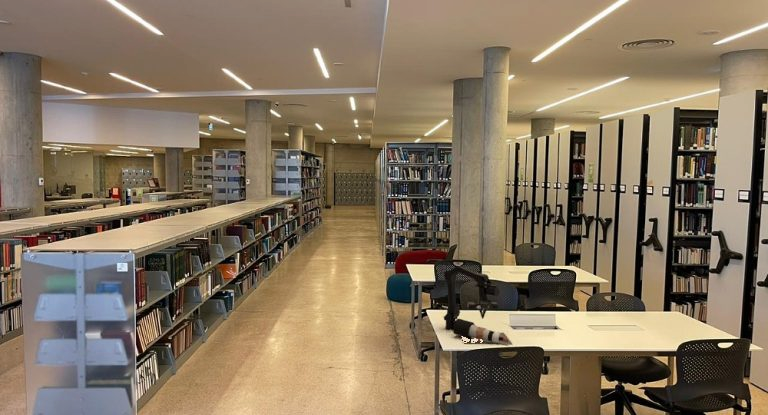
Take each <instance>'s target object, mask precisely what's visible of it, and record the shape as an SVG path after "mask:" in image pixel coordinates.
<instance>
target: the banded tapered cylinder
mask: <svg viewBox="0 0 768 415" xmlns="http://www.w3.org/2000/svg"><path fill="white" fill-rule="evenodd" d="M455 320H456V321H455V324H454V328H453V330H452V331H453V334H454V335H456V336H459V337H460V336H463V337H466V338H471V337H475V338H478V339H482V340H487V341H491V342H495V343H499V342H500V341H504V342H507V343H508V339H509V338H508V339H506V338H503V337H501V334H500V333H501V332H500V333H497V332H496V331H493V330H491V329H487V328H484V327H481V326H478V325H475V323H474V322H472V321H468V320H465V319H461V318H457V319H455Z"/></svg>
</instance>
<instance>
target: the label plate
mask: <svg viewBox="0 0 768 415" xmlns="http://www.w3.org/2000/svg"><path fill="white" fill-rule="evenodd" d="M497 333H500V334H501V337H503V338H506V339H508V343H507V342H504V341H500V342H499V343H495V342H491V341H487V340H483V342H482V343H480V342H481V341H480V339H478V338H476V339H478V341H477V342H475V343H471V339H474V338H475V337H471V338H468V339H470V341H469V342H467V343H464V344H463V345H510V346H511V345H513V343H512V341H511V340H510V338H509V337H508V336H507V334H506V333H505V332H500V331H499V332H497ZM464 342H466V341H464ZM473 342H474V341H473ZM468 343H469V344H468Z"/></svg>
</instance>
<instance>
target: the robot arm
mask: <svg viewBox="0 0 768 415" xmlns="http://www.w3.org/2000/svg"><path fill="white" fill-rule="evenodd" d="M459 274H461V275H464V276H465V277H468V278H470V279H472V280H474V281H475V283H477V284H476V285H474V286H475V287H477V292H478V293H477V294H478V295H477V296H478V298H477V303H475V302H474V301H468V302H467V308H468V309H474V308H475V307H476V310H478V311H479V313H480V317H481V319H484V318H485V315H486V314H487V310H490V308H493V309H499V304H498V303H497V301H496V302H493V301H492V300H491V299H488V296H492V297H498V296H499V293H500V289H499V287H498V285H496V284H495V285H494V284H493V283H492V282H491V279H489V275H488V274H486V273H485V274H484V273H482V272H481V273H479V272H476V271H473V270H471V269H469V268H466V267H465V266H462V265H457V266H456V267H454V268H452V269H451V268H450V269H449V270H445V271H444V272H443V276H444V278H443V279H444V281H445V282H446V284H447V286H446V287H447V296H448V299H447V300H448V307H447V309H446V314H445V315H444V316H443V320H444V321H445V327H444V328H445V330H446V331H447V330H449V331H451V330H452V331H453V328H454V324H455V321H456V320H457V319H458V317H459V316H460V315H461V314H460V313H461V310H460V308H461V307H460V306H458V305H457V298H456V297H457V296H456V295H457V294H456V285H455V283H456V280H457V275H459ZM489 307H490V308H489Z"/></svg>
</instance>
